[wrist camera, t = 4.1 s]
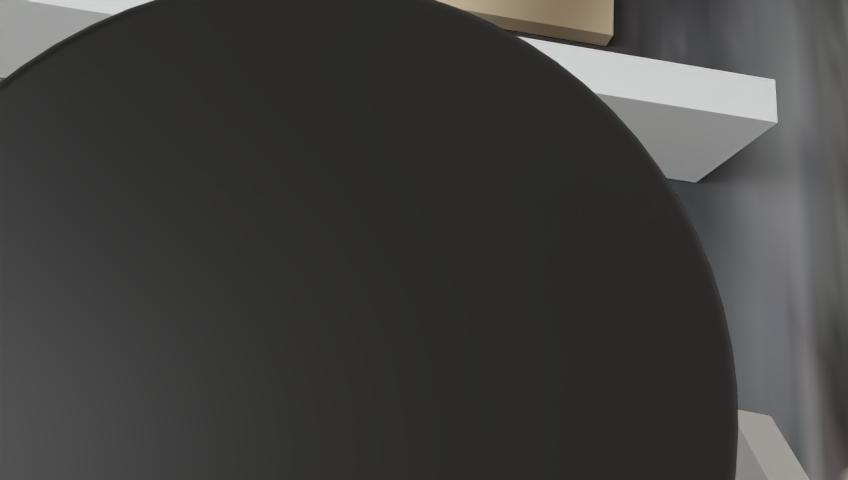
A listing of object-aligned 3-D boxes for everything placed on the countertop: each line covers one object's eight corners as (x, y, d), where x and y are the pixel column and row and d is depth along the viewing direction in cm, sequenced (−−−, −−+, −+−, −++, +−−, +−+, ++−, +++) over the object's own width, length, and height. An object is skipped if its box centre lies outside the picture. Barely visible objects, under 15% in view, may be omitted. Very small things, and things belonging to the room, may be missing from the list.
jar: (535, 331, 19) (851, 147, 8) (435, 654, 16) (687, 1117, 5) (226, 211, 19) (73, -162, 7) (75, 518, 16) (-524, 671, 5)
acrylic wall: (-1, 77, 19) (-82, -17, 15) (12, 39, 19) (-65, -62, 16) (695, 183, 21) (777, 122, 17) (695, 146, 21) (775, 79, 17)
